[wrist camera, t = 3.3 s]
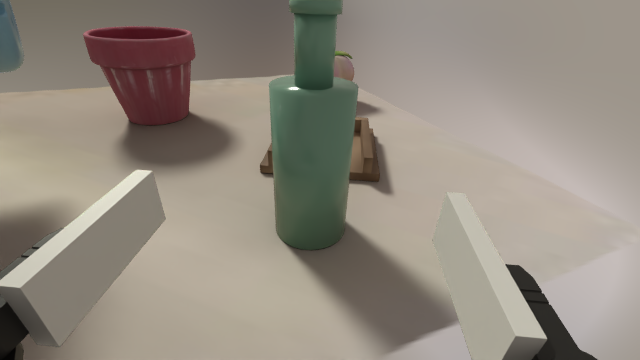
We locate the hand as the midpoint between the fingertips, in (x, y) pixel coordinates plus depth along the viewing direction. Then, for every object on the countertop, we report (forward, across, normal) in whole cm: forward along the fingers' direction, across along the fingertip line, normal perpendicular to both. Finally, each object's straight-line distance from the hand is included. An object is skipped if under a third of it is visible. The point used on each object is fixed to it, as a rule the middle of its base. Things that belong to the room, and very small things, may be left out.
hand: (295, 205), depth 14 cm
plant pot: (+36, -28, -10) cm, 47 cm away
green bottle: (+11, 0, -10) cm, 15 cm away
